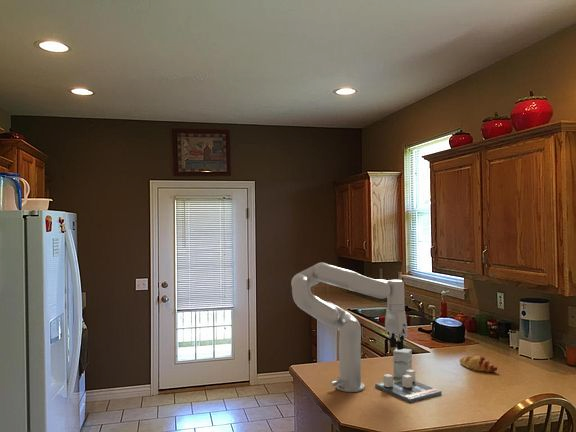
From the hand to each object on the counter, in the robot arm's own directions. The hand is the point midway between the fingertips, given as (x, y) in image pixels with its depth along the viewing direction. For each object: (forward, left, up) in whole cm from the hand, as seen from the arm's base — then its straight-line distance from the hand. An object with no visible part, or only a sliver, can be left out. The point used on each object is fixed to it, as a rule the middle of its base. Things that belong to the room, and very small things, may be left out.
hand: (396, 347), depth 214 cm
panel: (0, -7, -17) cm, 18 cm away
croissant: (+53, -1, -18) cm, 56 cm away
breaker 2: (+7, -2, -15) cm, 17 cm away
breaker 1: (-6, -2, -15) cm, 17 cm away
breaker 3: (0, -7, -15) cm, 17 cm away
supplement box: (+12, +9, -17) cm, 23 cm away
